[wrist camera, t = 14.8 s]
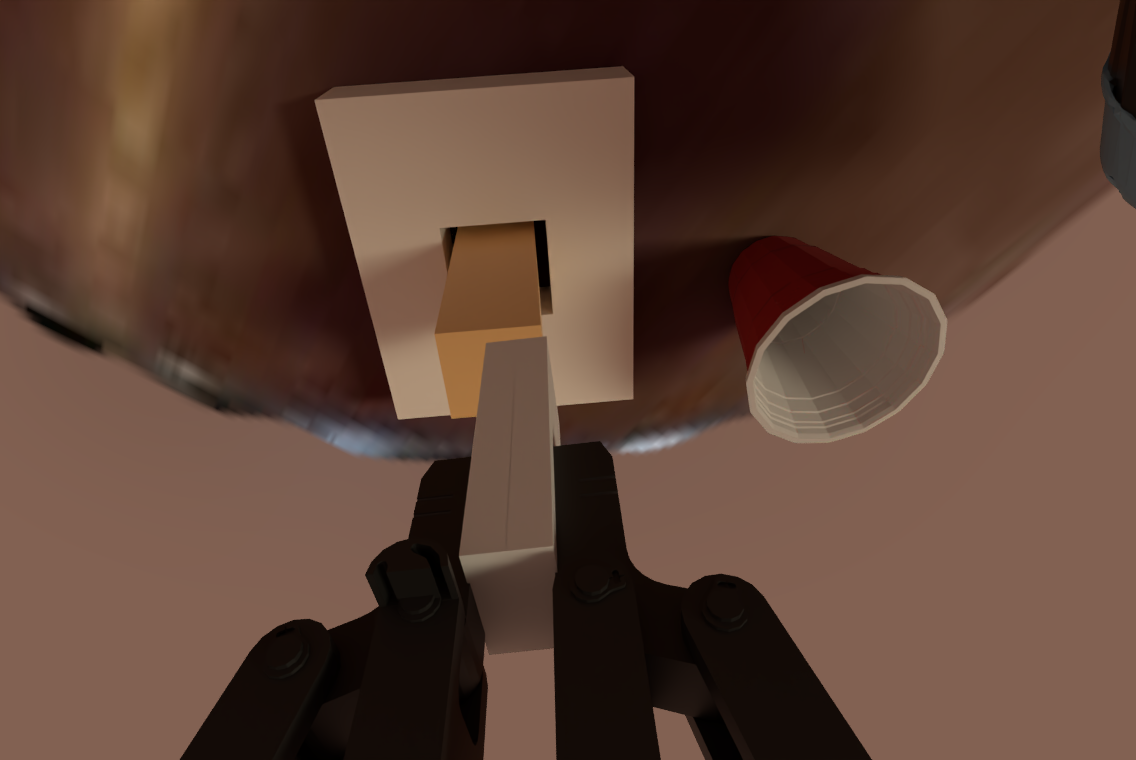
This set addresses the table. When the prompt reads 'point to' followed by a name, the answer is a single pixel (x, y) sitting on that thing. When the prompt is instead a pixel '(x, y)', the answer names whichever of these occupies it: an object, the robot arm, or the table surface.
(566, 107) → the socket plate
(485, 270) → the plug block
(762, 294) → the plastic cup
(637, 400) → the table surface
